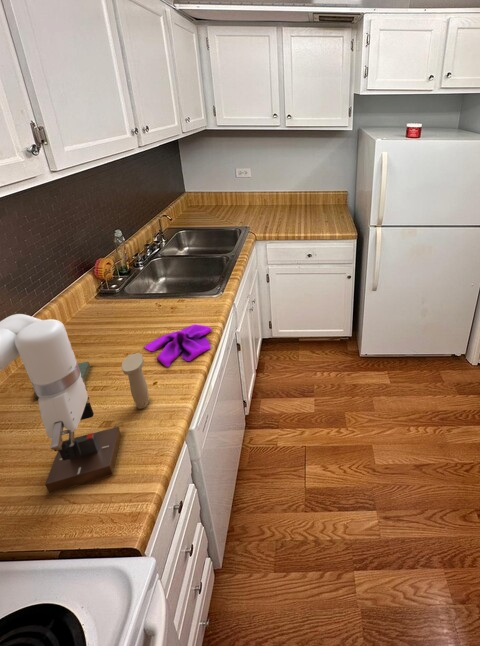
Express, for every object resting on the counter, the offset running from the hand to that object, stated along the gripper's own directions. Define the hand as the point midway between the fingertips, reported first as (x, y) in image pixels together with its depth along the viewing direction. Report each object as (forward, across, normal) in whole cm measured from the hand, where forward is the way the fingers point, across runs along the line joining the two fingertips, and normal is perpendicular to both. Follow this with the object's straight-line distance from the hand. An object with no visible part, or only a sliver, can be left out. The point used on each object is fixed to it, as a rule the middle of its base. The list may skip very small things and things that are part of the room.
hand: (79, 436), depth 74 cm
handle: (+9, -13, +10) cm, 18 cm away
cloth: (+9, -35, +18) cm, 40 cm away
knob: (+5, 0, 0) cm, 5 cm away
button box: (+8, -29, -13) cm, 33 cm away
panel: (+8, 0, 0) cm, 9 cm away
